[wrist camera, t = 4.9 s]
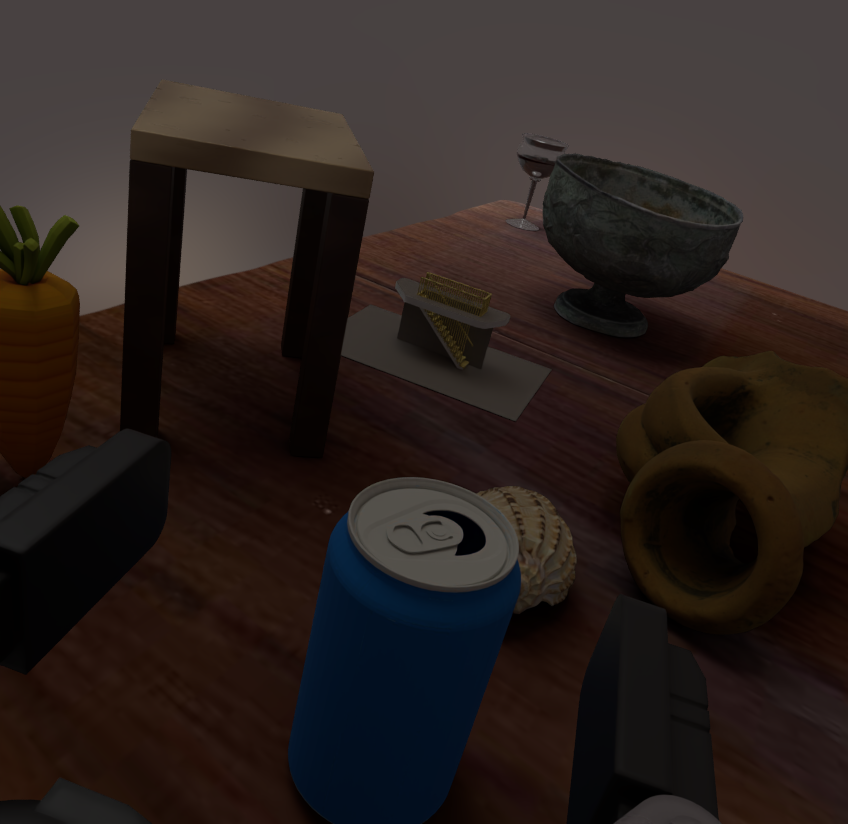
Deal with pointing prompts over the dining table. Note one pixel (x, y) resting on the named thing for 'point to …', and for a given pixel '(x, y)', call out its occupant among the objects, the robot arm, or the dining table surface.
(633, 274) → the bowl
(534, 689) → the dining table surface
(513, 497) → the seashell
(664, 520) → the brown looped sculpture
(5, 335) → the carrot
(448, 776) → the beverage can
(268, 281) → the dining table surface
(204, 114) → the stool
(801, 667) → the dining table surface
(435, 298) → the platform
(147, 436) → the robot arm
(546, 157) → the wineglass
